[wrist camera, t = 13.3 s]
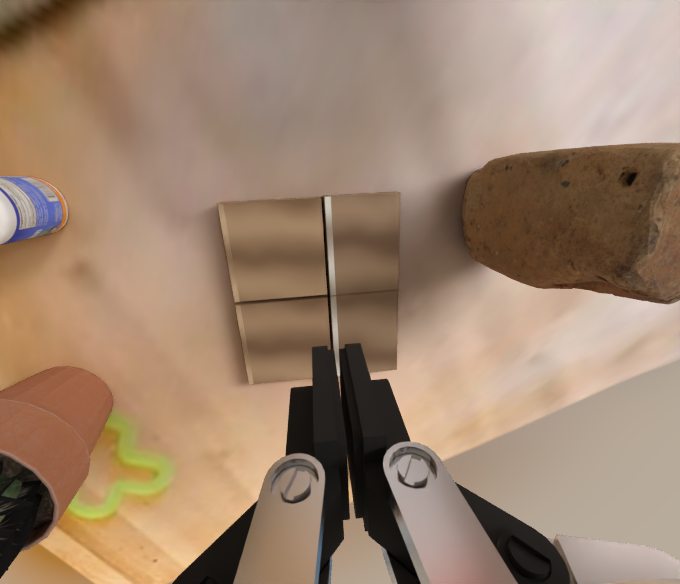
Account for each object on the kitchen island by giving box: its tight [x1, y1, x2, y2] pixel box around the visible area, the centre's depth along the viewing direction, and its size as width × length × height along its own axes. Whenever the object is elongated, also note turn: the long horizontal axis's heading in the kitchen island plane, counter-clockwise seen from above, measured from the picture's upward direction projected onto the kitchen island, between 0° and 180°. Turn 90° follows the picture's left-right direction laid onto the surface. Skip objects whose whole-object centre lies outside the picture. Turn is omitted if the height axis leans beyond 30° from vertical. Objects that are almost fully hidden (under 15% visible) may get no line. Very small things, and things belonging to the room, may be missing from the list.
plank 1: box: [217, 197, 327, 302], centre depth 33 cm, size 10×10×2 cm
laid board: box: [323, 192, 400, 376], centre depth 36 cm, size 21×8×2 cm, turn 3°
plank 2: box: [235, 295, 331, 385], centre depth 37 cm, size 10×10×2 cm
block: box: [462, 143, 680, 304], centre depth 26 cm, size 11×8×20 cm
